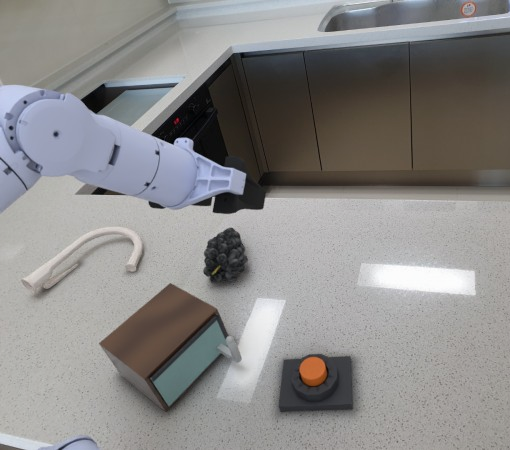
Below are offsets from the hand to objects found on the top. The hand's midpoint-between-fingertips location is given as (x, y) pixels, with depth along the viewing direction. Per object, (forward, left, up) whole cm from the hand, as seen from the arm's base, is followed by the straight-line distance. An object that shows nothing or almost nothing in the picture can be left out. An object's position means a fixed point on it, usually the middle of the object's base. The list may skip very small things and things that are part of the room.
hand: (235, 198), depth 52 cm
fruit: (+12, +23, -30) cm, 40 cm away
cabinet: (-9, +15, -30) cm, 35 cm away
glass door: (-9, +7, -29) cm, 31 cm away
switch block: (-1, -7, -30) cm, 31 cm away
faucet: (-3, +48, -30) cm, 57 cm away
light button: (-1, -7, -27) cm, 28 cm away
